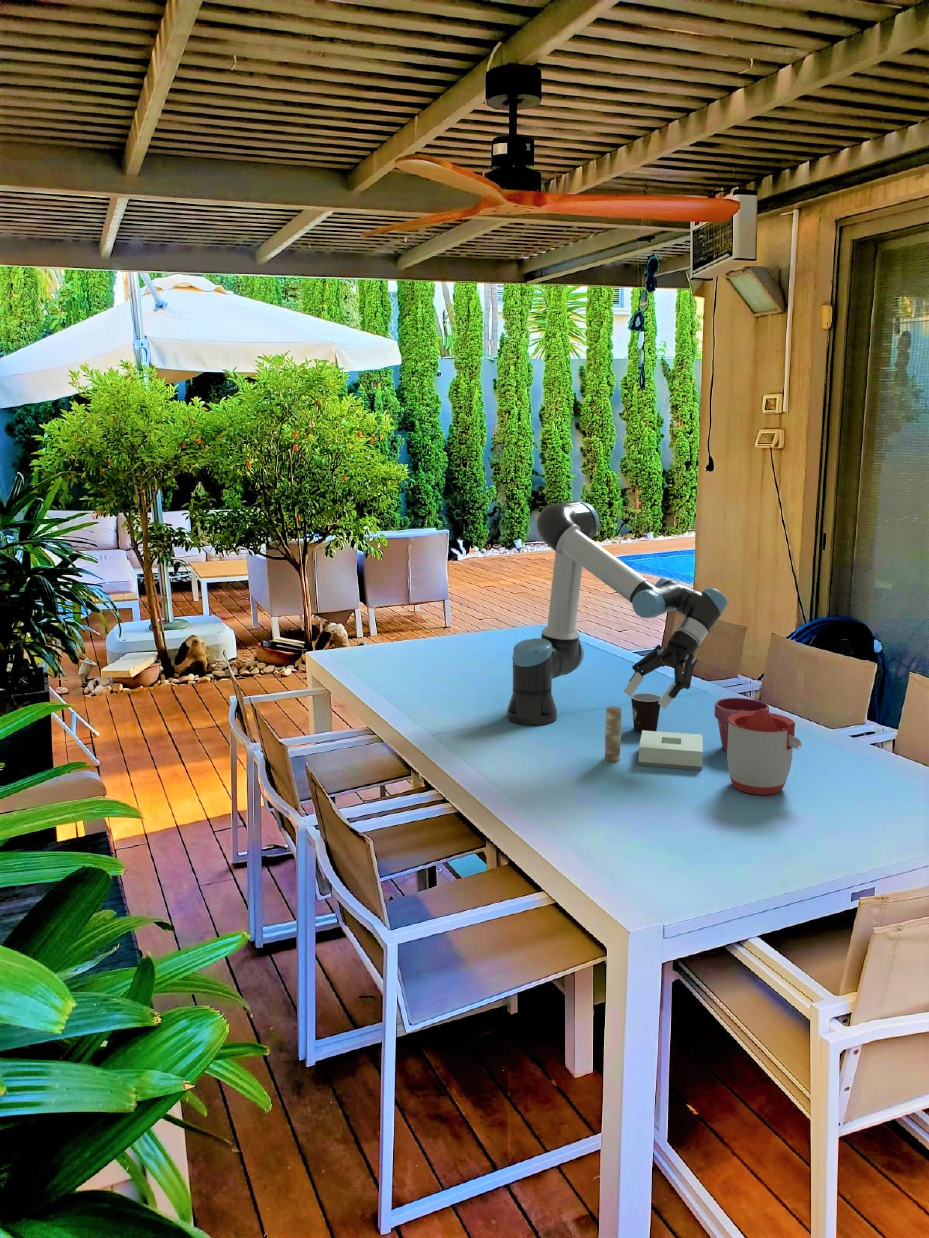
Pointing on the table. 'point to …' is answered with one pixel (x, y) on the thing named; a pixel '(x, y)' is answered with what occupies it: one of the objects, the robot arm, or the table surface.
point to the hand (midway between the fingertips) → (643, 699)
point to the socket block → (671, 750)
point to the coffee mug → (645, 711)
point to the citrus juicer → (760, 751)
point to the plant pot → (734, 706)
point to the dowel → (613, 734)
